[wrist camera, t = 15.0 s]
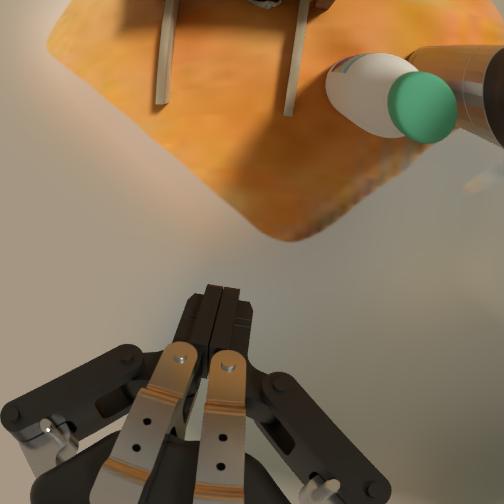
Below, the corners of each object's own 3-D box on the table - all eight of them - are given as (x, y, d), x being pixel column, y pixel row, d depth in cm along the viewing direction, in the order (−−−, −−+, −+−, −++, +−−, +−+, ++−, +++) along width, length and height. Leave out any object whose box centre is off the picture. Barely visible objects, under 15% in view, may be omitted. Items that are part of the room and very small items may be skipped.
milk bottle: (380, 124, 33) (462, 181, 17) (320, 111, 34) (358, 154, 17) (391, 65, 29) (487, 73, 12) (328, 50, 29) (378, 30, 13)
